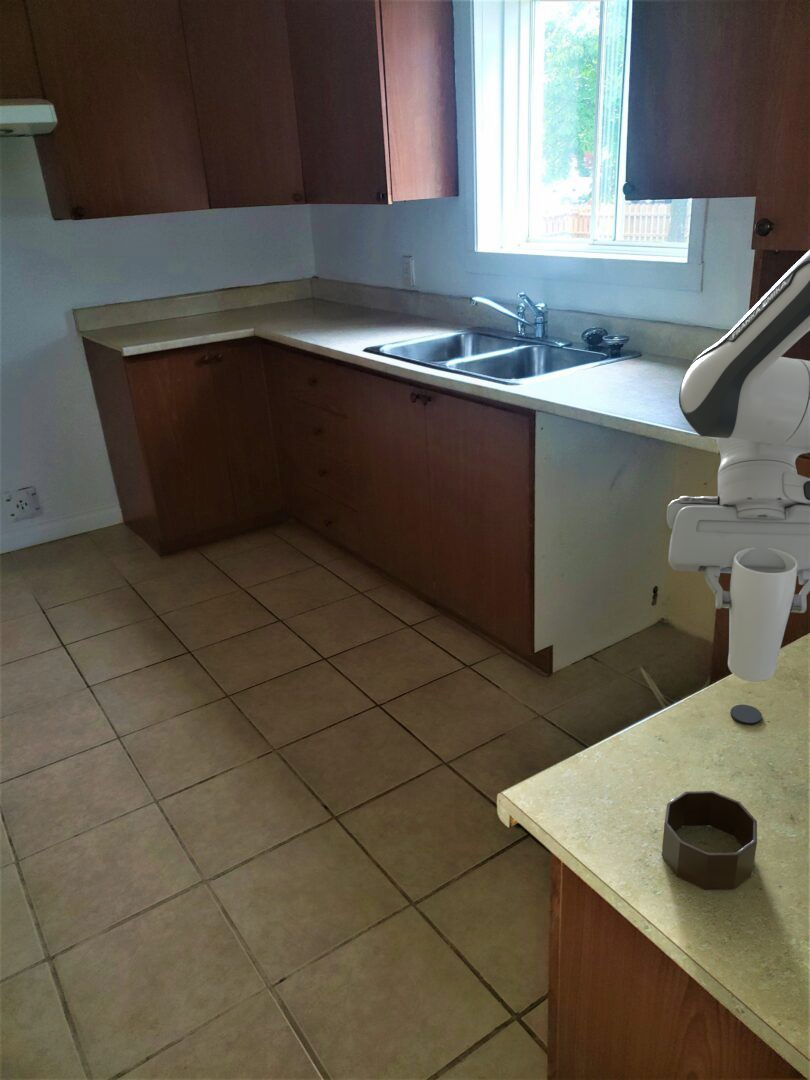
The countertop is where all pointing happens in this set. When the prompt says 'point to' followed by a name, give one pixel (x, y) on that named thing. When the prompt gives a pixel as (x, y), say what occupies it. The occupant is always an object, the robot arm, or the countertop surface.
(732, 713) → the coaster
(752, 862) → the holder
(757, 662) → the drinking glass
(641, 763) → the countertop surface
